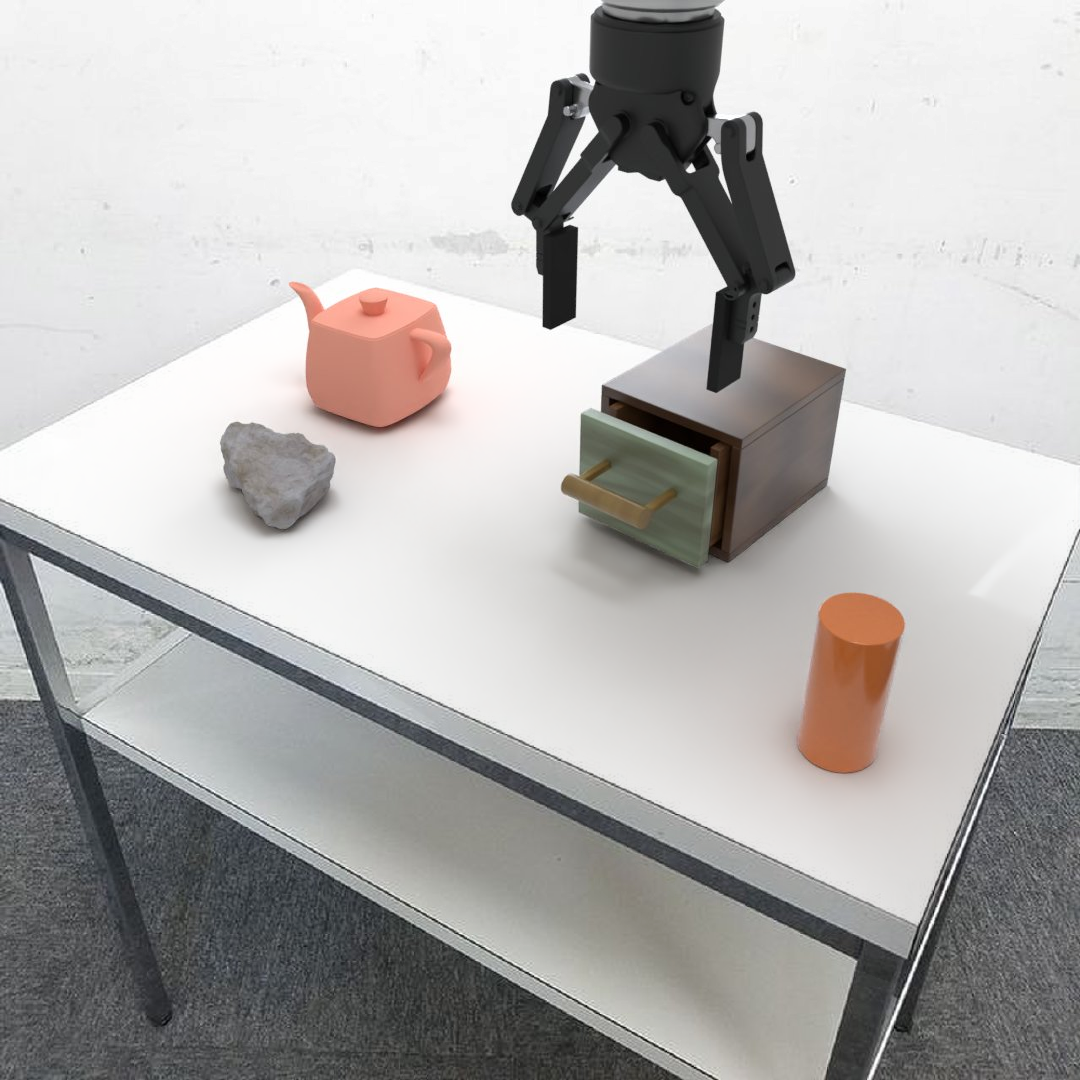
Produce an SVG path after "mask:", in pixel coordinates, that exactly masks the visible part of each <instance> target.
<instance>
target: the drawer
mask: <svg viewBox="0 0 1080 1080" xmlns="http://www.w3.org/2000/svg"><path fill="white" fill-rule="evenodd" d="M579 425H580V427H579V430H580V431H579V433H580V434H579V467H578V468H579V471H578V473H579V475H577V474H574V473H571V472H570V473H568V474H567V475H565V476H564V478H563V479H562V481H561V484H560V491H561V493H562V494H563V495H565V496H568V497H570V498H571V499H574V500H576V501H578V514H581V515H583V516H586V517H588V518H590V519H592V520H594V521H596V522H598V523H600V524H603V525H604V526H607V527H609V528H611V529H613V530H615V531H618V532H620V533H622V534H623V535H626V536H628V537H631V538H633V539H635V540H637V541H639V542H640V543H643V544H645V545H647V546H649V547H652V548H654V549H656V550H658V551H660V552H662V553H664V554H667V555H668V556H671V557H673V558H675V559H676V560H679V561H682V562H684V563H686V564H687V565H690V566H692V567H694V568H696V569H700V568H701V567H703V566H704V565H705V564H706V563H708V559H709V553H708V550H709V546H712V545H713V544H714V543H716V542H717V541H718V540H720V539H721V538H722V537H723V528H724V519H725V510H726V500H727V491H728V482H729V473H730V463H731V454H732V445H730V444H727V443H725V442H722V441H719V440H717V439H714V438H712V437H709V436H707V435H704V434H702V433H699V432H697V431H694V430H692V429H689V428H687V427H684V426H681V425H679V424H676V423H674V422H671V421H669V420H666V419H664V418H661V417H659V416H656V415H654V414H651V413H649V412H646V411H643V410H641V409H638V408H636V407H633V406H631V405H628V404H626V403H623V402H621V401H618V402H616V403H614V404H613V405H611V406H609V415H607V414H605V413H602V412H601V410H600V411H599V410H597V409H595V408H592V407H589V408H587V409H585V410H584V411H582V412H581V413H580V424H579Z"/></svg>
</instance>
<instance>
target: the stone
mask: <svg viewBox="0 0 1080 1080" xmlns="http://www.w3.org/2000/svg"><path fill="white" fill-rule="evenodd" d="M219 445H220V451H221V454H222V458H223V460H224V461H223V462H224V464H223V467H222V468H223V474H224V476H225V478H226V480H227V484H228V485H229V486H230V487H231V488H234V489H235V488H236V489H240V490H241V491H242V495H243V496H244V497H243V498H244V500H245V502H246V503H247V504H248V505H249V507H250V509H251V511H252V513H253V514H254V515H255V516H256V517H260V518H262V520H263V521H264V524H265V525H266V526H269V527H272V528H277V529H279V530H286V529H289V528H291V527H292V526H293V525H295V523H296V522H297V521H298V519H299V518H301V517H304V515H306V514H307V513H308V512H310V511H311V510H312V509H313V508H314V506H316V505H317V503H318V502H319V501H320V500H321V499H322V498H323V497H324V496H325V495H326V493H327V492H328V491H329V490H330V488H331V481H332V479H333V477H334V474H335V468H336V467H335V466H336V462H337V460H336V459H337V458H336V455H335V454H334V453H333V452H331V451H329V448H328V447H326V446H325V445H324V444H316V443H312V442H311V441H310V440H309V439H307V438H306V436H305V435H304V434H303V433H300V432H289V433H282V432H276V431H274V430H273V429H271V428H270V427H267V426H265V425H264V424H262V423H261V424H260V423H256V422H250V423H242V422H240V421H233V422H231V423H229V424H228V426H227V427H226V429H225V430H224V433H223V434H222V435H221V438H220V441H219Z"/></svg>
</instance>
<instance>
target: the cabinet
mask: <svg viewBox="0 0 1080 1080" xmlns="http://www.w3.org/2000/svg"><path fill="white" fill-rule="evenodd" d="M712 327H713V323H711V324H708V325H707V326H705V327H703V328H701V329H700V330H697V331H696V332H694V333H693V334H691V335H689V336H687V337H685V338H684V339H682V340H680V341H678V342H676V343H674V344H673V345H670V346H669V347H667V348H666V349H664V350H662V351H660V352H658V353H657V354H654V355H653V356H651V357H650V358H647V359H645V360H644V361H642V362H641V363H638V364H637V365H635V366H633V367H631V368H629V369H628V370H626V371H624V372H622V373H621V374H619V375H617V376H615V377H613V378H611V379H610V380H608V381H606V382H605V383H603V384H601V395H600V412H602V413H605V414H607V415H609V406H611V405H613V404H614V403H616V402H618V401H621V402H623V403H626V404H628V405H631V406H633V407H636V408H638V409H641V410H643V411H646V412H649V413H651V414H654V415H656V416H659V417H661V418H664V419H666V420H669V421H671V422H674V423H676V424H679V425H681V426H684V427H687V428H689V429H692V430H694V431H697V432H699V433H702V434H704V435H707V436H709V437H712V438H714V439H717V440H719V441H722V442H725V443H727V444H730V445H732V454H731V463H730V473H729V482H728V491H727V500H726V510H725V519H724V528H723V537H722V538H721V539H720V540H718V541H717V542H716V543H714V544H713V545H712V546H709V550H708V554H709V555H711V556H714V557H716V558H717V559H721V560H722V561H725V562H727V563H729V562H731V561H732V560H733V559H735V558H736V557H738V556H739V555H740V554H741V553H742V552H744V551H745V550H747V548H749V547H750V546H751V545H753V544H755V542H757V541H758V540H759V539H760V538H762V537H763V536H764V535H765V534H767V533H768V532H770V530H772V529H773V528H775V526H777V525H778V524H779V523H781V522H782V521H783V520H784V519H786V518H787V517H788V516H789V515H791V514H792V513H793V512H794V511H796V510H798V508H799V507H801V506H803V504H804V503H806V502H807V501H808V500H810V499H812V497H813V496H815V495H816V494H817V493H818V492H820V491H821V490H822V489H824V488H825V487H826V486H827V485H828V482H829V476H830V470H831V463H832V458H833V452H834V445H835V439H836V433H837V427H838V421H839V416H840V415H839V414H840V408H841V403H842V397H843V391H844V384H845V377H846V374H847V373H846V372H847V368H845V367H842V366H839V365H836V364H833V363H830V362H827V361H824V360H821V359H818V358H815V357H812V356H809V355H806V354H802V353H800V352H796V351H795V350H791V349H788V348H784V347H782V346H779V345H776V344H773V343H770V342H768V341H767V342H766V341H763V340H761V339H758V338H754V337H753V338H752V339H750V340H748V341H747V342H745V343H744V351H743V359H742V368H741V377H740V379H738V380H737V381H735V382H733V383H732V384H730V385H729V386H727V387H725V388H724V389H722V390H721V391H719V392H718V393H714V392H712V391H709V390H707V389H706V388H707V378H708V368H709V357H710V347H711V337H712Z"/></svg>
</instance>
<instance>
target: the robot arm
mask: <svg viewBox="0 0 1080 1080" xmlns="http://www.w3.org/2000/svg"><path fill="white" fill-rule="evenodd" d="M596 1H598V3H599V4H601V5H599V6H598V7H596V8H595V10H594V11H593V12H592V13H591V15H590V28H589V53H588V54H589V56H588V57H589V58H588V59H589V60H588V70H589V74H590V76H591V78H592V79H593V80H594V84H592V83H591V80H590V77H589V76H588V75H587V74H586V73H584V72H580V73H577V74H576V73H575V74H574V75H570V76H567V77H563V78H560V79H556V80H554V81H552V82H551V84H550V88H549V96H548V108H547V116H546V118H545V121H544V123H543V126H542V128H541V130H540V133H539V135H538V137H537V139H536V141H535V144H534V147H533V149H532V152H531V153H530V156H529V159H528V161H527V163H526V166H525V169H524V171H523V172H522V175H521V178H520V180H519V183H518V184H517V187H516V189H515V192H514V194H513V197H512V199H511V203H510V206H511V210H512V213H513V214H514V215H516V217H522V216H524V217H526V219H528V220H529V221H530V222H531V226H532V228H533V229H534V231H535V234H536V235H535V252H536V253H535V257H536V259H535V268H536V271H537V275H540V276H542V319H541V320H542V322H541V323H542V324H541V325H542V328H544V329H546V330H549V331H552V330H553V329H556V328H558V327H560V326H562V325H564V324H566V323H568V322H570V321H572V320H574V319H576V318H577V295H578V292H577V290H578V257H579V256H578V254H579V253H578V252H579V251H578V249H579V227H578V226H576V225H572V224H568V225H565V223H566V222H569V221H571V220H573V219H575V217H574V216H573V214H575V213H576V211H577V210H578V209H579V208H580V206H582V204H583V203H584V202H585V201H586V200H587V198H588V197H589V196H590V195H591V194H592V193H593V191H594V190H595V189H596V188H597V187H598V186H599V185H600V184H601V182H602V181H603V180H604V179H605V178H606V177H607V175H609V174H610V173H611V171H612V170H613V169H614V168H615V166H617V171H619V172H622V173H626V174H635V173H636V174H637V173H638V174H640V175H642V176H643V177H645V178H646V179H648V180H652V181H655V182H661V181H664V180H665V182H666V184H667V185H668V188H669V190H670V192H671V193H672V194H673V195H674V196H676V197H679V198H680V199H681V200H682V203H683V205H684V207H685V208H686V210H687V212H688V214H689V216H690V217H691V220H692V221H693V224H694V226H695V227H696V229H697V231H698V233H699V235H700V237H701V238H702V240H703V243H704V245H705V246H706V248H707V250H708V252H709V254H710V256H711V258H712V259H713V262H714V263H715V265H716V267H717V270H718V271H719V273H720V275H721V277H722V278H723V281H724V282H725V285H726V286H725V287H723V288H721V289H719V290H717V291H716V292H715V295H714V296H715V297H714V306H713V307H714V308H713V317H712V324H713V327H712V337H711V347H710V357H709V368H708V378H707V388H706V389H707V390H709V391H712V392H714V393H718V392H719V391H721V390H722V389H724V388H725V387H727V386H729V385H730V384H732V383H733V382H735V381H737V380H738V379H740V377H741V368H742V359H743V351H744V343H745V342H747V341H748V340H750V339H752V338H754V337H755V336H756V334H757V332H758V328H759V319H760V312H761V302H762V297H763V295H769V294H771V293H773V292H775V291H776V290H778V289H780V288H782V287H784V286H785V285H788V284H789V283H790V282H792V281H794V279H795V277H796V268H795V265H794V260H793V257H792V254H791V251H790V247H789V244H788V240H787V237H786V233H785V229H784V226H783V222H782V218H781V214H780V212H779V207H778V204H777V200H776V197H775V194H774V190H773V186H772V182H771V180H770V176H769V172H768V168H767V165H766V161H765V158H764V154H763V144H764V141H763V140H764V137H763V136H764V121H763V117H762V115H761V114H760V113H759V112H757V111H754V110H753V111H749V112H747V113H744V114H742V115H729V114H718V111H717V109H716V105H715V101H714V99H715V98H714V93H715V90H716V86H717V83H718V80H719V77H720V73H721V65H722V54H723V43H724V42H723V41H724V33H725V32H724V31H725V18H724V17H723V16H722V13H721V12H720V10H718V9H717V8H716V7H719V6H720V5H721V4H723V3H724V2H725V1H726V0H596ZM589 114H590V117H591V118H592V120H593V123H594V125H595V127H596V129H597V133H596V134H595V136H594V137H592V139H591V140H590V142H588V143H587V146H586V147H585V148H584V149H583V150H582V151H581V152H580V154H579V157H580V158H579V159H578V160H577V162H576V163H575V164H574V165H573V167H572V168H571V169H570V170H569V172H568V173H567V174H566V175H565V176H564V177H563V179H562V180H561V181H560V182H559V184H558V181H559V179H560V177H561V175H562V172H563V170H564V168H565V166H566V164H567V162H568V159H569V157H570V155H571V153H572V151H573V148H574V146H575V143H576V142H577V139H578V137H579V135H580V133H581V130H582V127H583V126H584V123H585V120H586V117H587V116H588V115H589ZM712 139H713V141H714V142H715V144H714V146H713V151H714V153H715V154H716V155H720V162H721V169H722V173H723V177H724V181H725V185H726V188H727V191H728V194H727V192H726V190H725V187H724V186H723V184H722V182H721V180H720V173H721V171H720V167H719V165H718V163H717V161H716V159H715V157H714V155H713V153H712V151H711V149H710V147H709V145H708V144H709V142H710V141H711V140H712ZM691 165H692V167H693V168H694V171H692V172H688V168H689V167H690V166H691ZM557 184H558V185H557ZM728 195H729V196H728ZM564 225H565V226H564Z"/></svg>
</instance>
